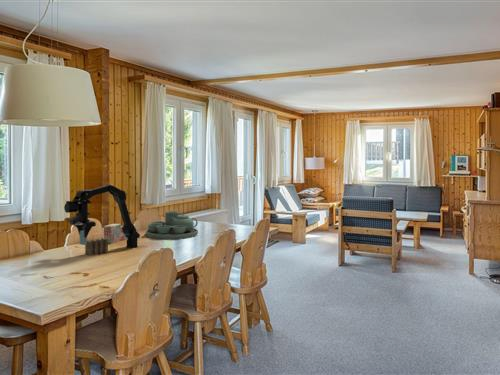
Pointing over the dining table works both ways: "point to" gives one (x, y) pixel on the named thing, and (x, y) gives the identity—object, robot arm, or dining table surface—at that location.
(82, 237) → the end domino
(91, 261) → the dining table surface
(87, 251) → the domino
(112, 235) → the stack of blocks
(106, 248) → the domino
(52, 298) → the dining table surface
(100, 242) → the domino
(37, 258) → the dining table surface
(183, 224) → the tea set
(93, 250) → the domino
